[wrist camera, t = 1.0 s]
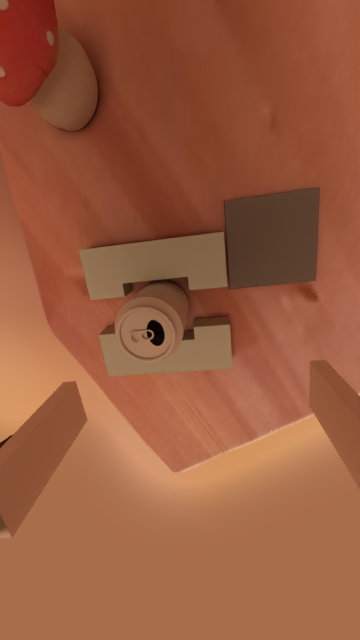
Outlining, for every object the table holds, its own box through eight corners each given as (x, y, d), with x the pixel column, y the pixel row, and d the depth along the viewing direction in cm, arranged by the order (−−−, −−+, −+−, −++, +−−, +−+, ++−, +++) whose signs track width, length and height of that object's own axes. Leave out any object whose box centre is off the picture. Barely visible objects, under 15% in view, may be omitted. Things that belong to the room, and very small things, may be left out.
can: (193, 325, 38) (187, 365, 27) (144, 332, 39) (119, 373, 28) (184, 274, 36) (174, 295, 25) (132, 283, 37) (100, 307, 26)
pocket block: (90, 248, 36) (78, 250, 33) (222, 231, 34) (223, 231, 30) (116, 364, 41) (108, 375, 38) (230, 357, 39) (232, 368, 36)
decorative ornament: (72, 33, 28) (-60, -160, 14) (119, 79, 29) (39, -62, 15) (33, 114, 31) (-110, 19, 17) (77, 153, 32) (-24, 93, 18)
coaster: (224, 201, 32) (224, 201, 32) (317, 188, 31) (319, 187, 30) (229, 288, 36) (230, 289, 35) (314, 279, 34) (315, 280, 34)
